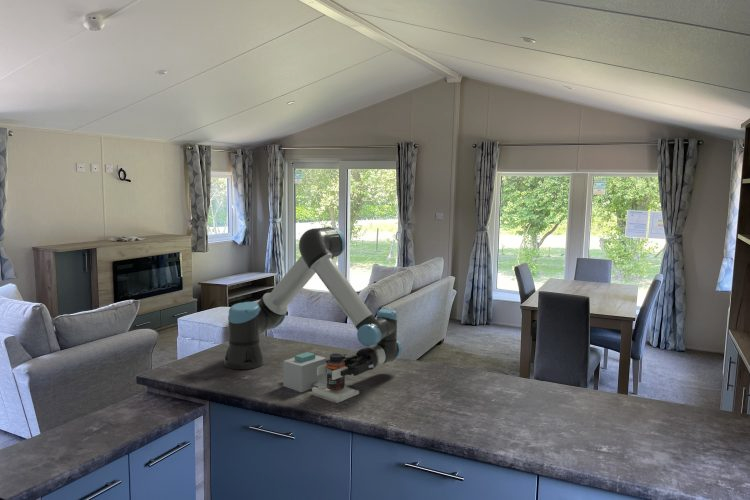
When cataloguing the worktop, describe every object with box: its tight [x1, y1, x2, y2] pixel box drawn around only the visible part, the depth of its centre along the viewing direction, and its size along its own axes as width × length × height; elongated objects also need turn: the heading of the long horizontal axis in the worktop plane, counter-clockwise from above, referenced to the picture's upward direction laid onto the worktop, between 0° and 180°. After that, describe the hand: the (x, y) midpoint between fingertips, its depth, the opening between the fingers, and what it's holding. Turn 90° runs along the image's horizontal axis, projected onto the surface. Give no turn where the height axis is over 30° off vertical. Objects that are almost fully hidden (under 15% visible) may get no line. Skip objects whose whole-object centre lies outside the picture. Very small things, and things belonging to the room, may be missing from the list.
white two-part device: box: [282, 351, 360, 404], centre depth 183 cm, size 28×12×11 cm, turn 52°
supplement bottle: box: [326, 352, 346, 391], centre depth 177 cm, size 6×6×11 cm
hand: (325, 373), depth 173 cm, fingers open, 6 cm apart
